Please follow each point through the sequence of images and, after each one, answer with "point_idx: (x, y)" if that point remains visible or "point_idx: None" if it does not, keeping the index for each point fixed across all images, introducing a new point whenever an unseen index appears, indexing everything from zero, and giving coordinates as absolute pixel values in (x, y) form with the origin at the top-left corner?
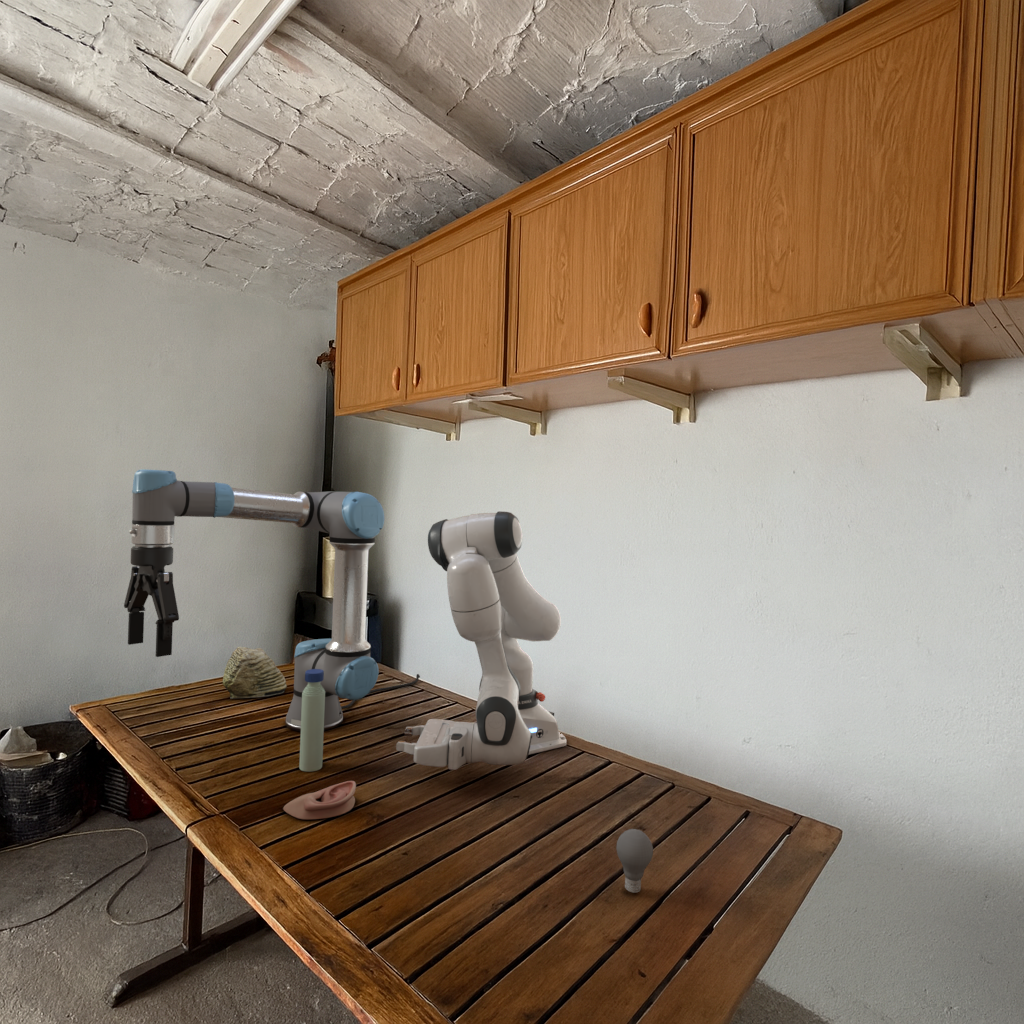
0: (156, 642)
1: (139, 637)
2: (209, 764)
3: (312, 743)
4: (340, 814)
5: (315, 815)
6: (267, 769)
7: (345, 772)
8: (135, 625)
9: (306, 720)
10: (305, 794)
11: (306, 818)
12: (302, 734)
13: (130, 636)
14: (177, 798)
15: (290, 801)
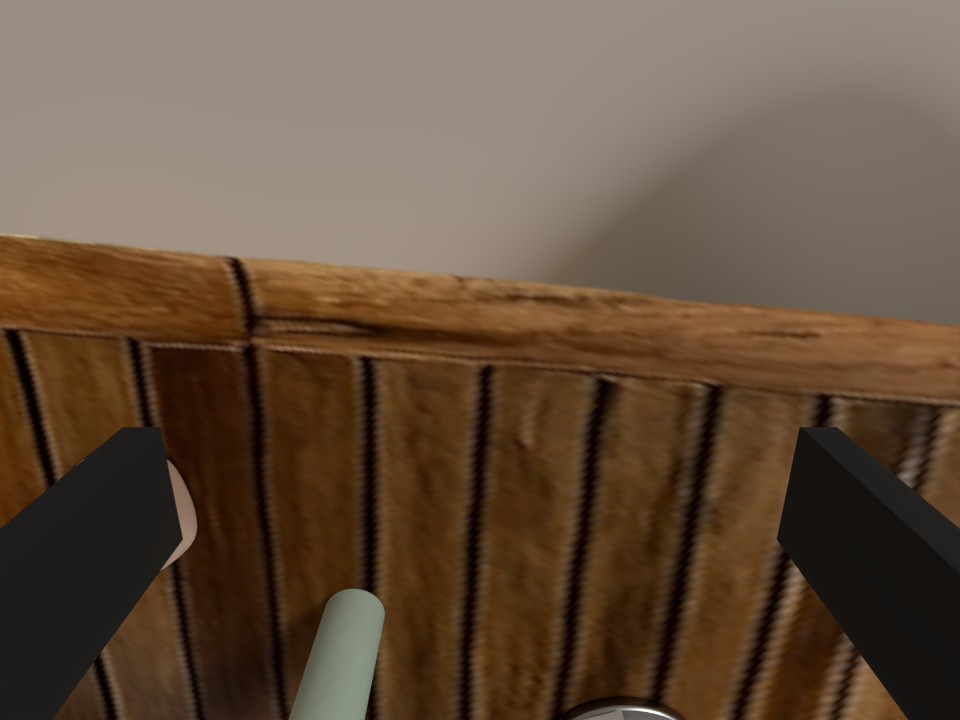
0: (64, 507)
1: (814, 547)
2: (567, 456)
3: (308, 662)
4: None
5: None
6: (420, 539)
7: (268, 646)
8: (913, 613)
9: (303, 714)
10: (180, 523)
11: (75, 466)
12: (331, 669)
13: (845, 481)
14: (414, 305)
15: (172, 483)
